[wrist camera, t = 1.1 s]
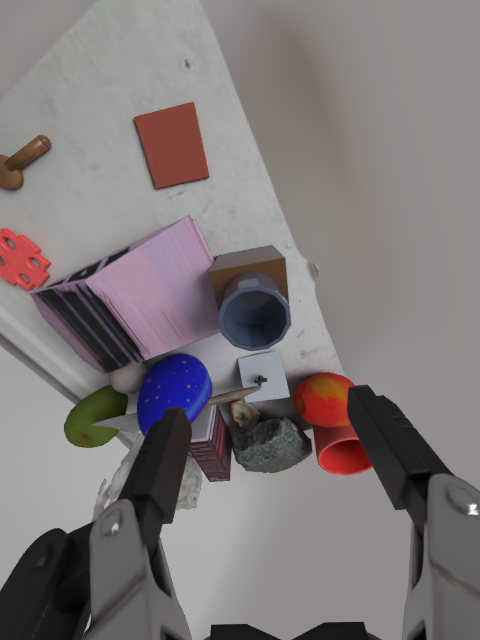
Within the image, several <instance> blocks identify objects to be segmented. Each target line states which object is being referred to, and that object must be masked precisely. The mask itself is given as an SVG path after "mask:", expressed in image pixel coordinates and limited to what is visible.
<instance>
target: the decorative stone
mask: <svg viewBox="0 0 480 640" xmlns="http://www.w3.org/2000/svg"><path fill="white" fill-rule="evenodd" d="M201 470H202V469H201V468H200V466H199V465H198V463H197V462H196V460H195V459H194V458H193V457H191V456H189V455H188V457H187V461H186V465H185V470H184V474H183V479H182V483H181V487H180V492H179V496H178V500H177V505H176V509H175V510H179V509H188V510H189V509H191V508H196V507H197V501H198V497H199V493H200V490H201V484H202V475H201Z"/></svg>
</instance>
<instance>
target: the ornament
mask: <svg viewBox="0 0 480 640" xmlns="http://www.w3.org/2000/svg"><path fill="white" fill-rule="evenodd" d="M211 392H212V383H211V379H210V377H209V374H208V371H207V369H206V368H205V366H204V365H203V364H202V363H201V362H200V361H199V360H198V359H197V358H195V357H193V356H191V355H187V354H175V355H172V356H169V357H167V358H165V359H163V360H162V361H160V362H159V363H157V364H156V365H155V366H154V367H153V368H152V369H151V370H150V372H149V373H148V374H147V376H146V378H145V380H144V381H143V384H142V387H141V389H140V393H139V397H138V403H137V418H138V424H139V428H140V430H141V432H142V434H143V436H144V437H145V436H146V434H147V431H148V430H149V429H150V428H151V426H152V425H153V424H154V423H155V421H158V420H161V418H162V416H163V413H164V411H165V409H166V408H170V407H179V406H182V407H183V408H184V410H185V412H186V415H187V417H188V419H189V422H190V424H192V423H193V422H194V421H195V420H196V419H197V417H198V416H199V414H200V413H201V411H202V410H203V408H204V407H205V405H206V404H207V402H208V400H209V398H210V396H211Z"/></svg>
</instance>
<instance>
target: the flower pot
mask: <svg viewBox="0 0 480 640" xmlns="http://www.w3.org/2000/svg"><path fill="white" fill-rule="evenodd" d="M313 432H314V440H315V448H316V455H317V461H318V464H319V465H320V467H321V468H322V469H324V470H325V471H327V472H329V473H332V474H336V475H353V474H358V473H361V472H364V471H366V470H368V469H370V468H372V467H373V466H372V464H371V462H370V460H369V458H368V456H367V454H366V452H365V450H364V448H363V446H362V444H361V442H360V441H359V439H358V437H357V435H356V433H355V431H354V429H353V427H352V425H351V423H350V424H349V425H347V426H336V427H327V428H326V427H322V426H318V425H314V424H313Z"/></svg>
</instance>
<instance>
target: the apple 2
mask: <svg viewBox="0 0 480 640" xmlns="http://www.w3.org/2000/svg"><path fill="white" fill-rule="evenodd" d="M350 386H355V385H354V384H353V383H352V382H351V381H350V380H349V379H347V378H346V377H344V376H341V375H337V374H333V373H329V372H328V373H323V374H318V375H315V376H312V377H310V378H308V379H307V380H305V381H304V382H302V383H301V384H300V385H299V386H298V388H297V390H296V392H295V394H294V396H293V403H294V406H295V408H296V410H297V412H298V413H299V414H300V415H301V417H302V418H303V419H304V420H305V421H306V422H308V423H310V424H314V425H318V426H322V427H326V428H327V427H336V426H347V425H349V424H350V421H349V418H348V414H347V398H348V388H349V387H350Z"/></svg>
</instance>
